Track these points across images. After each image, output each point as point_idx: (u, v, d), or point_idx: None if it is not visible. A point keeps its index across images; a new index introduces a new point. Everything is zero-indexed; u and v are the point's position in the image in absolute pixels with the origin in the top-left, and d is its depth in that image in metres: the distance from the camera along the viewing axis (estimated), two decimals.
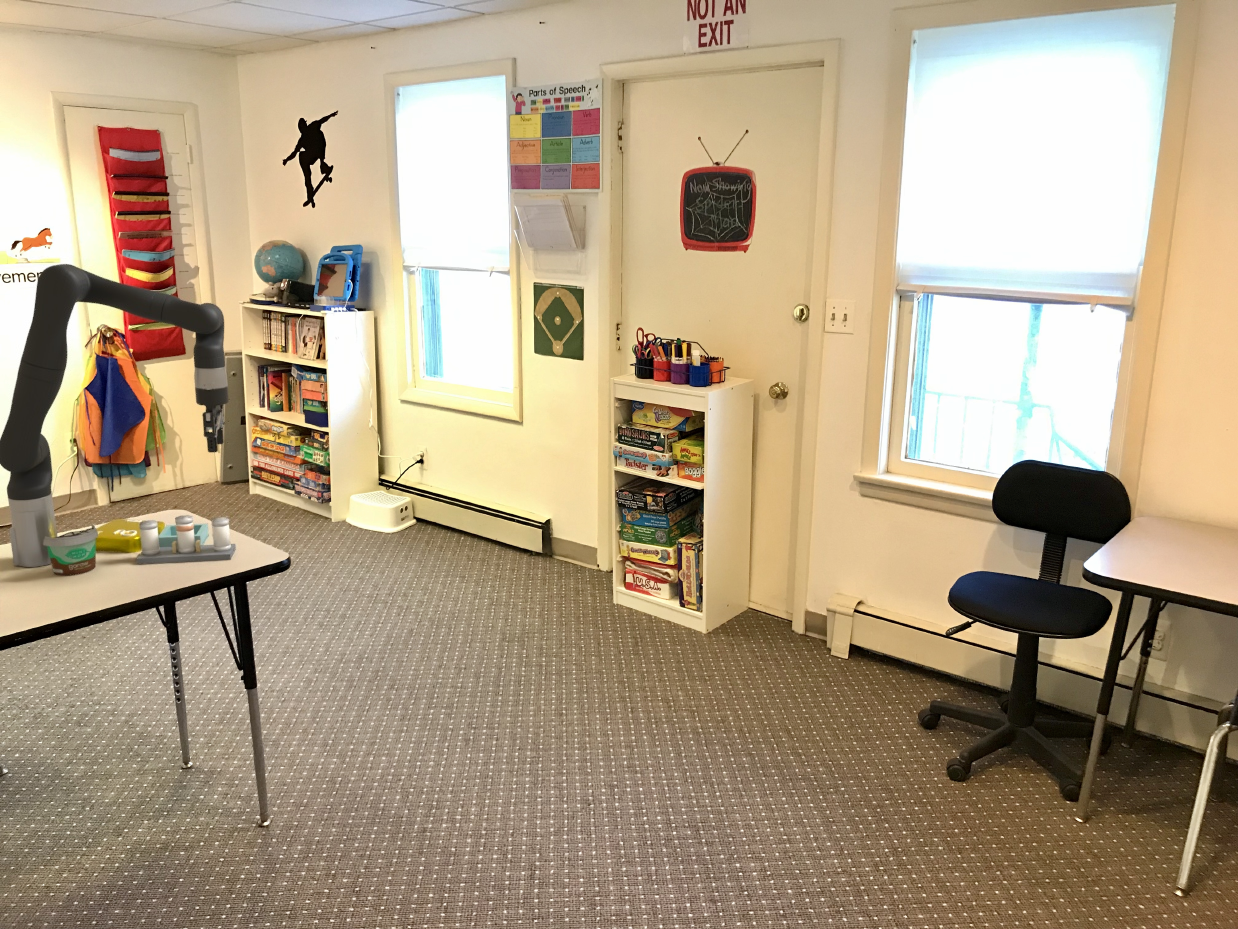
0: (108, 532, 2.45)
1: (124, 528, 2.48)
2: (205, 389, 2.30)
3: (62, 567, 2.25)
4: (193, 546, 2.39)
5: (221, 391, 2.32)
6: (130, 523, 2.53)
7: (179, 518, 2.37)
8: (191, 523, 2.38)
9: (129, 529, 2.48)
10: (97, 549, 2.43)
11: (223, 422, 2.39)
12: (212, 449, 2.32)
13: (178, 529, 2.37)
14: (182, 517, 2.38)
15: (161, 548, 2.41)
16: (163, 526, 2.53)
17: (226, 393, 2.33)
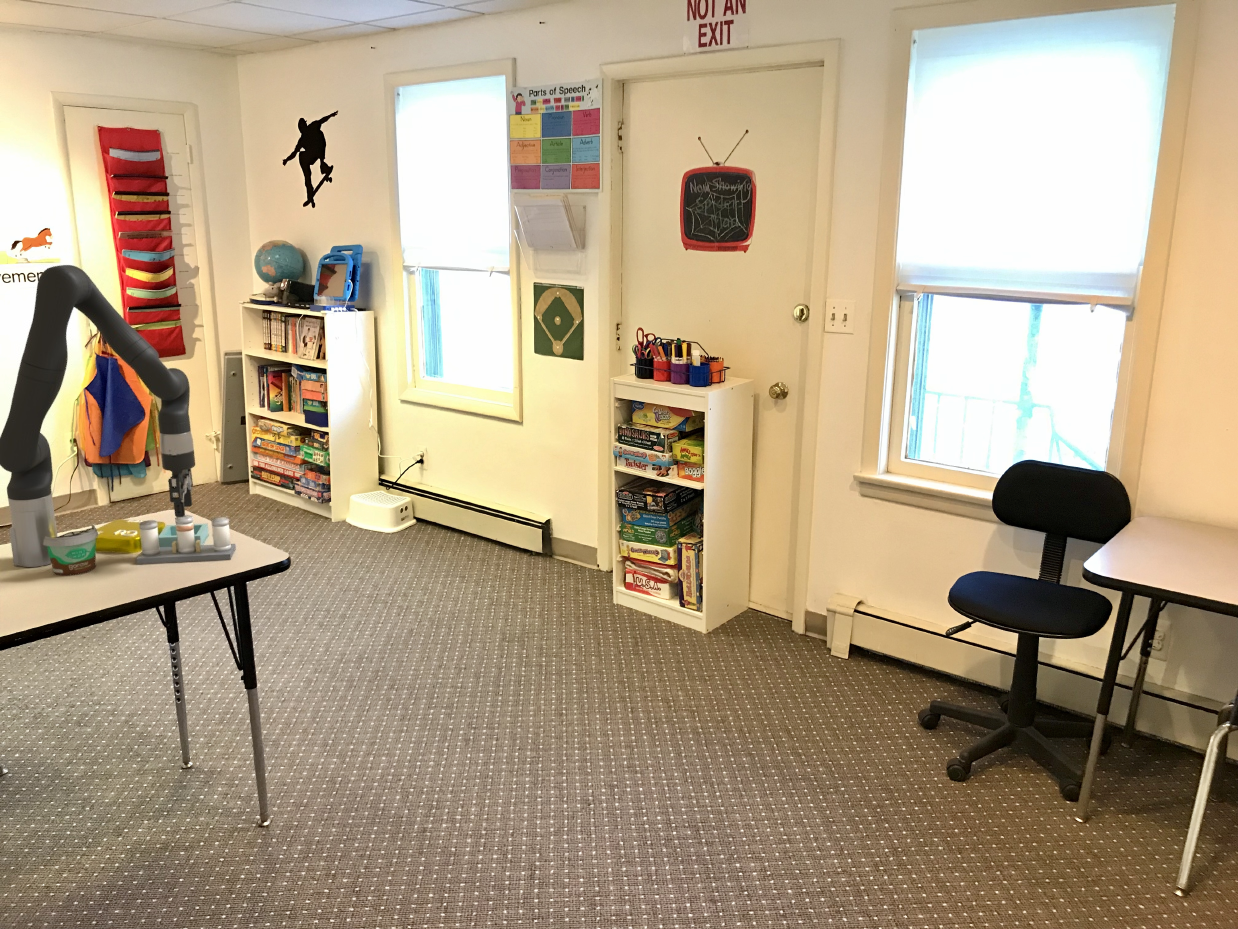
0: (109, 533, 2.45)
1: (125, 528, 2.48)
2: (170, 455, 2.30)
3: (62, 567, 2.25)
4: (193, 546, 2.39)
5: (187, 456, 2.32)
6: (131, 523, 2.53)
7: (179, 518, 2.37)
8: (191, 523, 2.38)
9: (130, 529, 2.48)
10: (98, 549, 2.42)
11: (191, 485, 2.39)
12: (179, 514, 2.32)
13: (178, 529, 2.37)
14: (182, 517, 2.38)
15: (161, 548, 2.41)
16: (164, 526, 2.53)
17: (192, 457, 2.34)
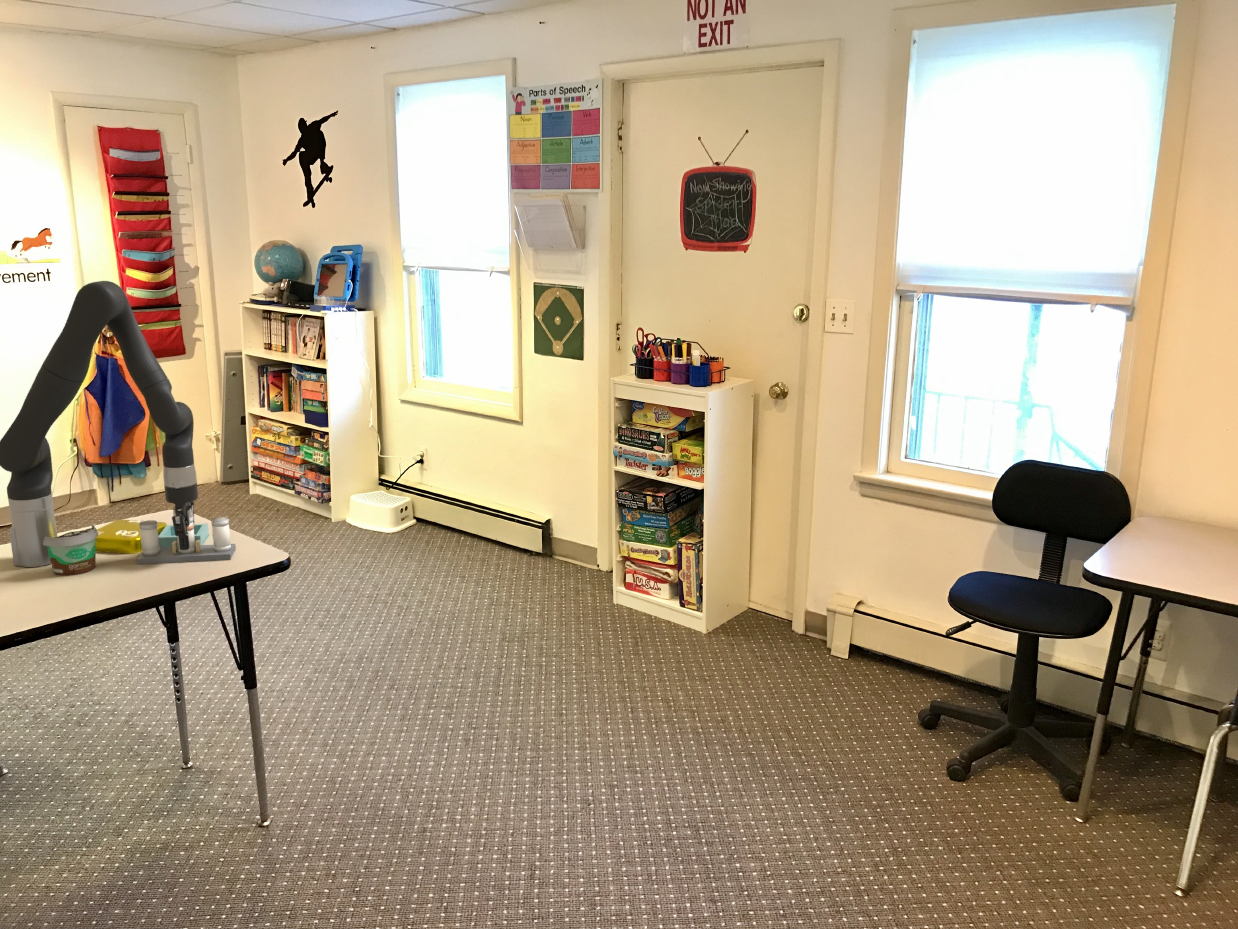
0: (110, 533, 2.44)
1: (126, 529, 2.48)
2: (174, 488, 2.32)
3: (62, 567, 2.25)
4: (193, 546, 2.39)
5: (190, 489, 2.34)
6: (133, 523, 2.52)
7: None
8: (191, 523, 2.38)
9: (131, 530, 2.47)
10: (98, 550, 2.42)
11: None
12: (184, 547, 2.37)
13: None
14: None
15: (161, 548, 2.41)
16: None
17: (195, 490, 2.36)
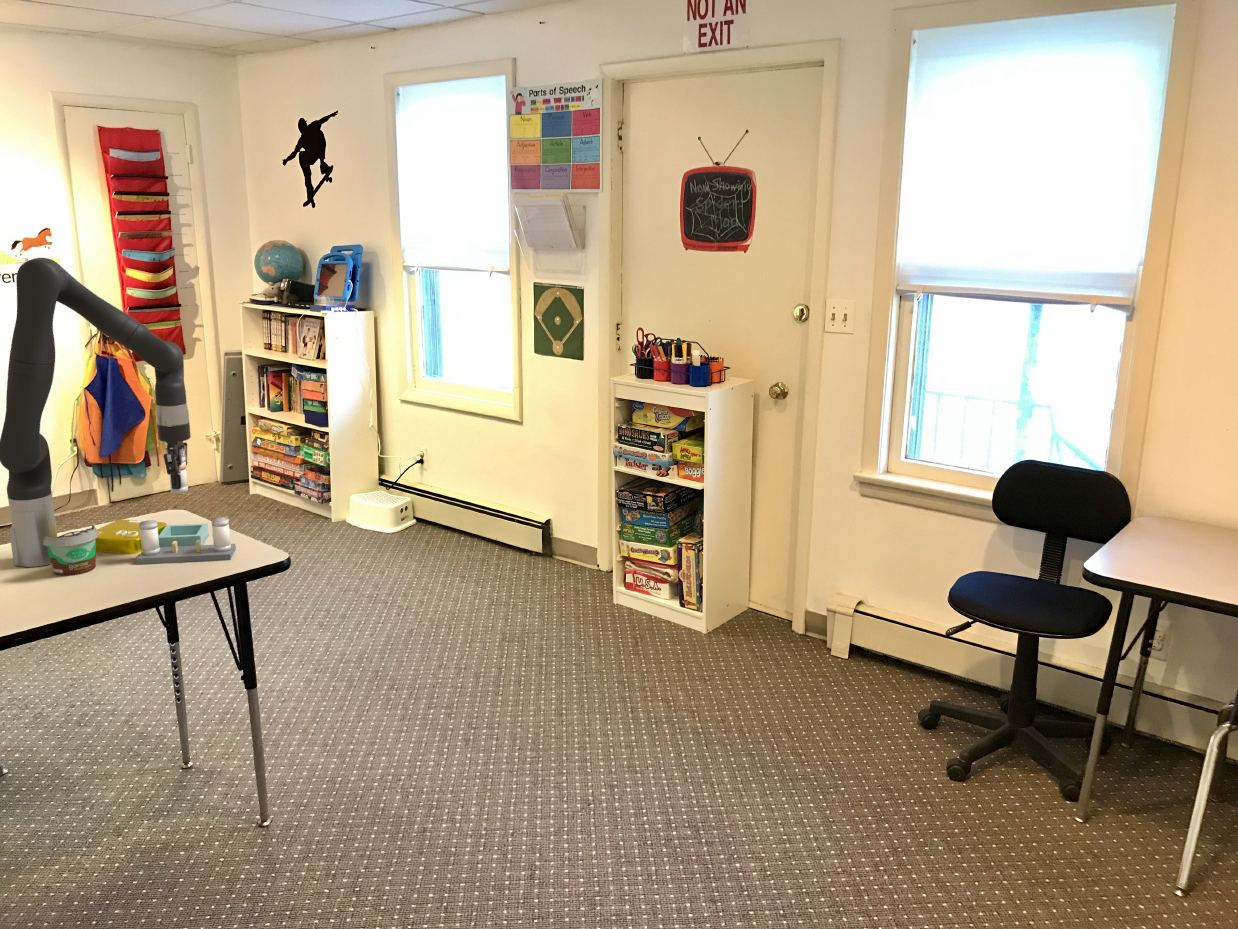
0: (110, 533, 2.44)
1: (126, 529, 2.48)
2: (166, 426, 2.34)
3: (62, 567, 2.25)
4: (185, 486, 2.41)
5: (182, 428, 2.36)
6: (133, 523, 2.52)
7: None
8: (183, 463, 2.40)
9: (131, 530, 2.47)
10: (98, 550, 2.42)
11: None
12: (176, 486, 2.39)
13: None
14: None
15: (161, 548, 2.41)
16: None
17: (187, 429, 2.38)
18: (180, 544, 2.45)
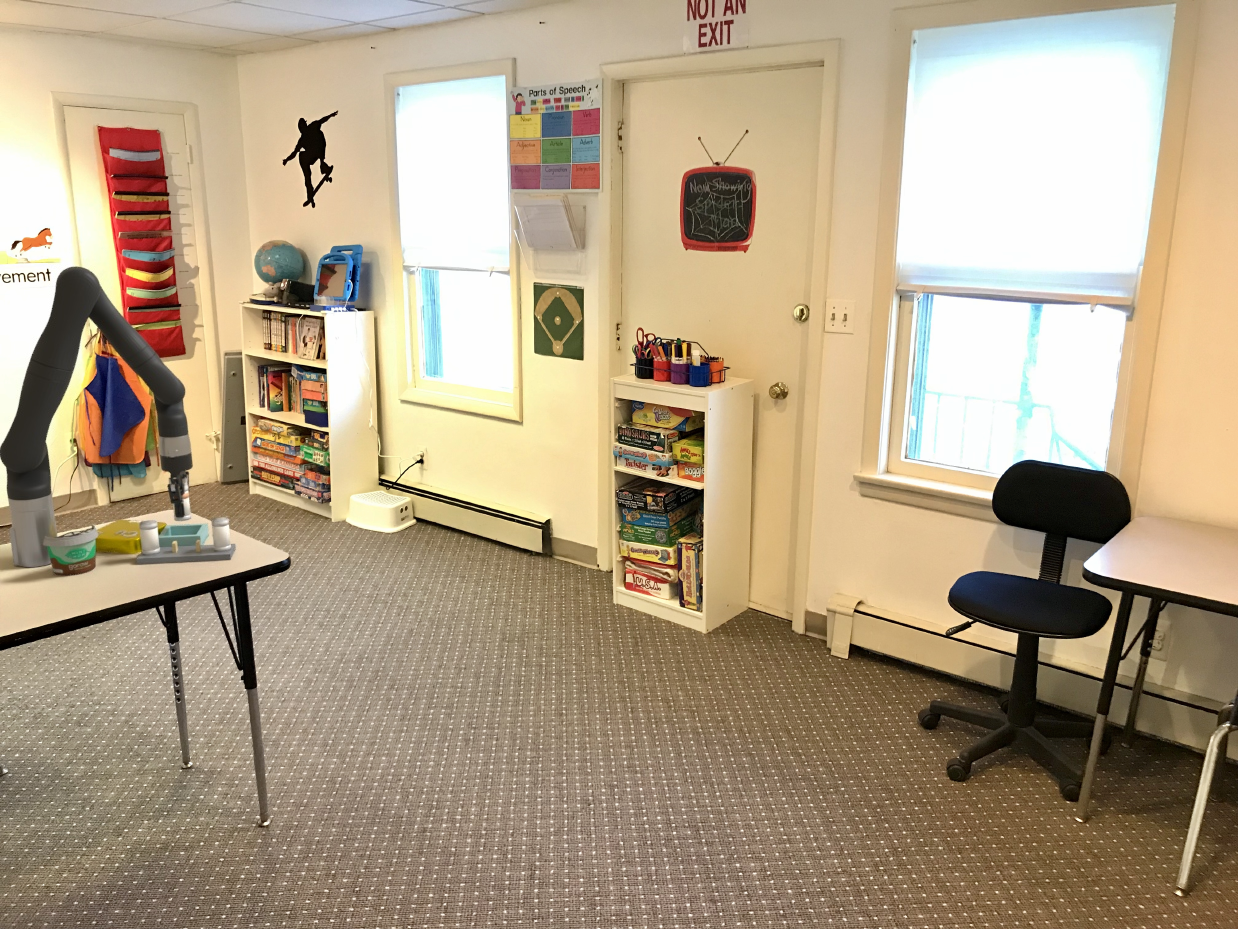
0: (110, 533, 2.44)
1: (126, 529, 2.48)
2: (169, 457, 2.40)
3: (62, 567, 2.25)
4: (188, 514, 2.48)
5: (185, 458, 2.42)
6: (133, 523, 2.52)
7: None
8: (186, 491, 2.46)
9: (131, 530, 2.47)
10: (98, 550, 2.42)
11: None
12: (179, 514, 2.45)
13: None
14: None
15: (161, 548, 2.41)
16: None
17: (190, 459, 2.44)
18: (180, 544, 2.45)
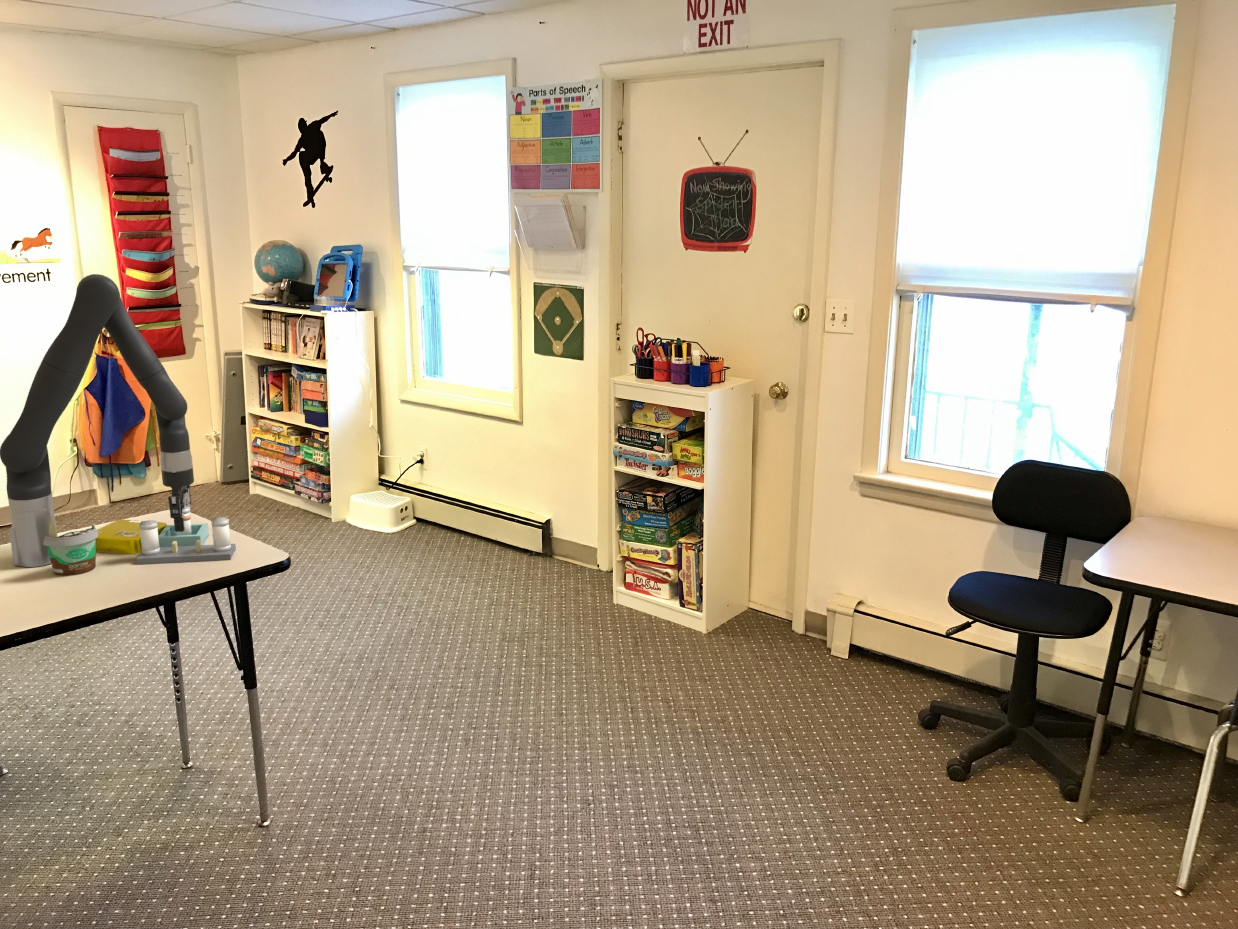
0: (110, 533, 2.44)
1: (126, 529, 2.48)
2: (170, 472, 2.41)
3: (62, 567, 2.25)
4: None
5: (186, 473, 2.43)
6: (133, 523, 2.52)
7: None
8: (188, 513, 2.48)
9: (131, 530, 2.47)
10: (98, 550, 2.42)
11: (189, 501, 2.50)
12: (179, 529, 2.44)
13: None
14: None
15: (161, 548, 2.41)
16: None
17: (191, 474, 2.45)
18: (180, 544, 2.45)
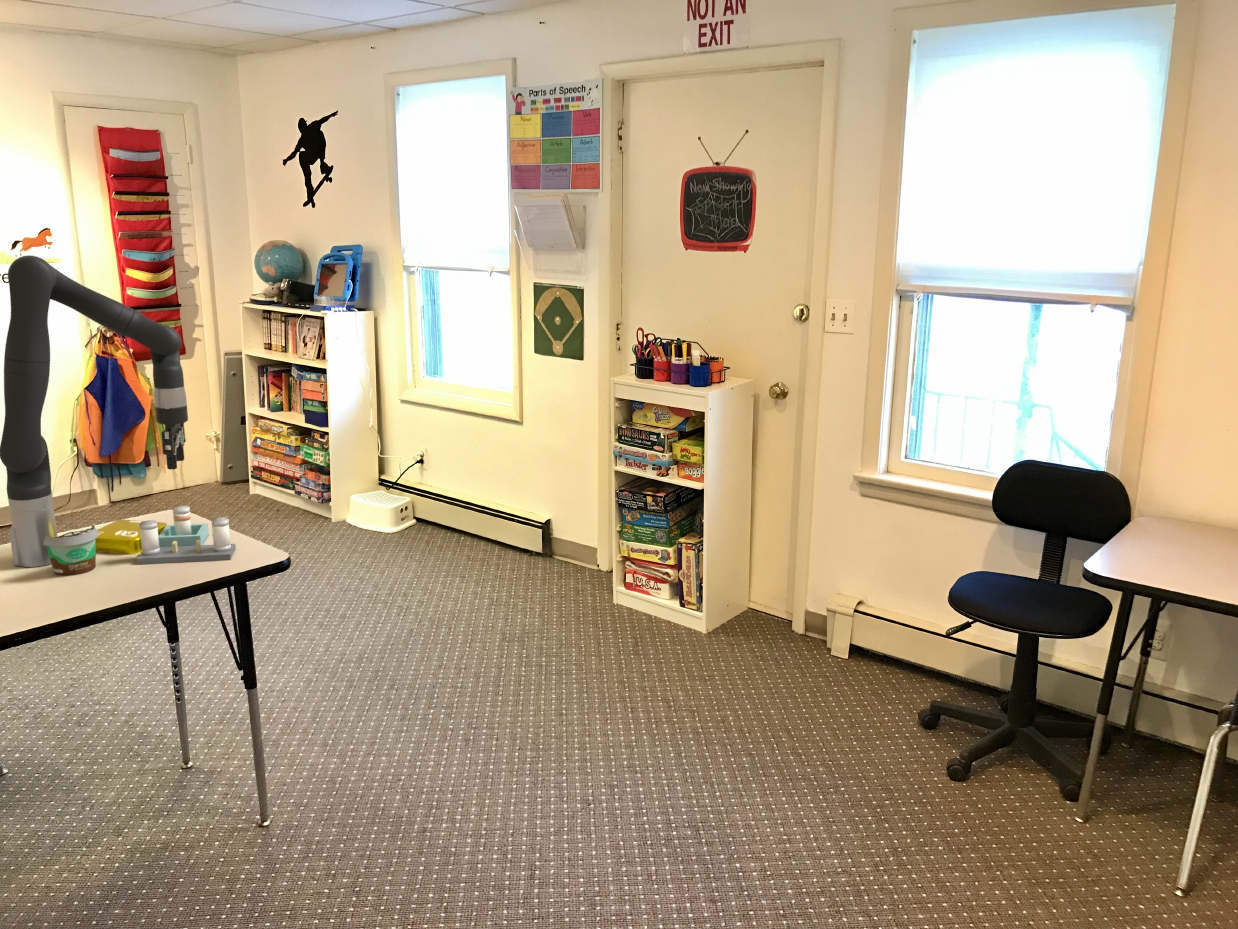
0: (110, 533, 2.44)
1: (126, 529, 2.48)
2: (164, 408, 2.37)
3: (62, 567, 2.25)
4: None
5: (180, 410, 2.39)
6: (133, 523, 2.52)
7: (176, 508, 2.47)
8: (188, 513, 2.48)
9: (131, 530, 2.47)
10: (98, 550, 2.42)
11: (183, 440, 2.47)
12: (171, 466, 2.40)
13: (175, 519, 2.46)
14: (179, 507, 2.48)
15: (161, 548, 2.41)
16: None
17: (185, 412, 2.41)
18: (180, 544, 2.45)
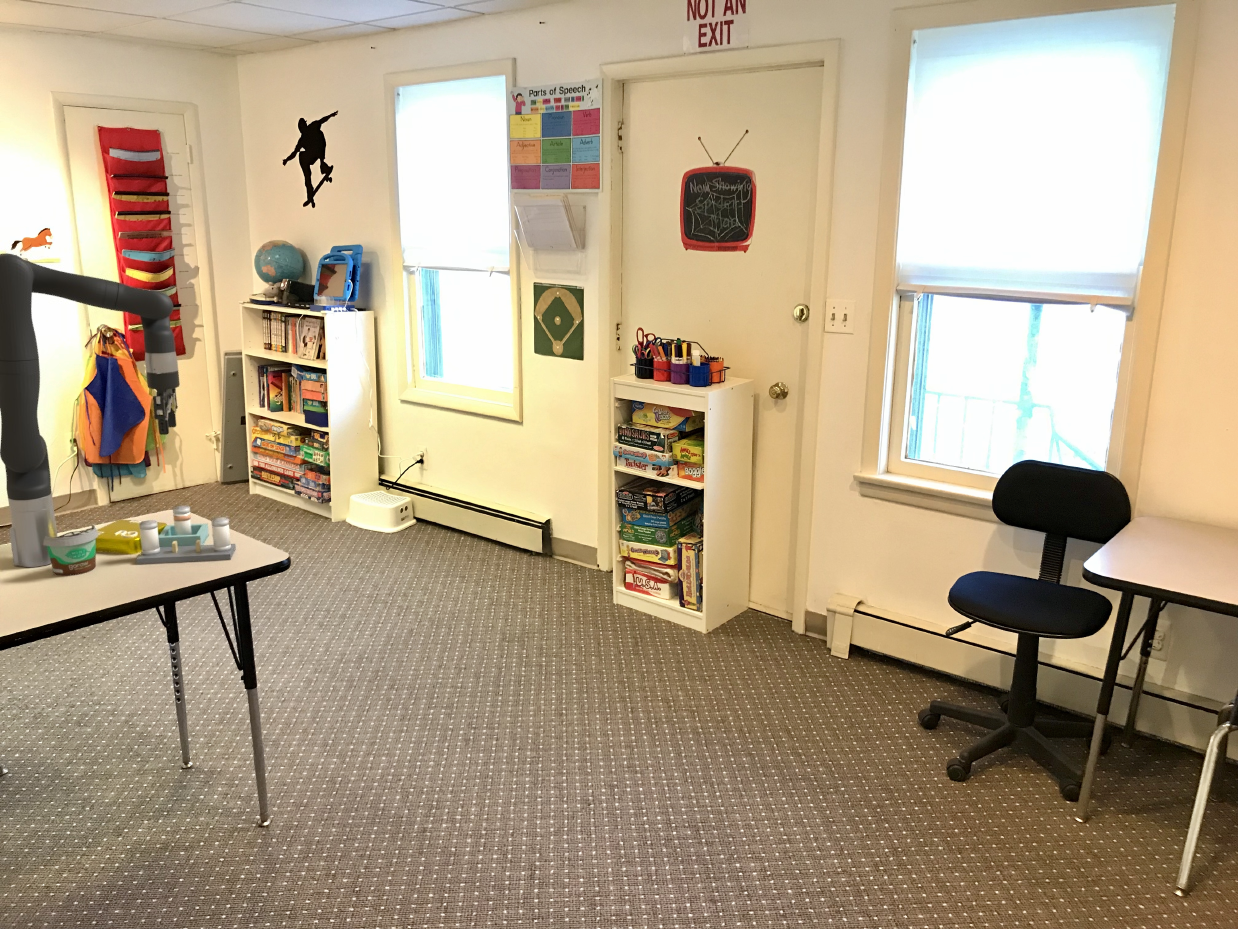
0: (110, 533, 2.44)
1: (126, 529, 2.48)
2: (155, 373, 2.37)
3: (62, 567, 2.25)
4: None
5: (171, 375, 2.39)
6: (133, 523, 2.52)
7: (177, 508, 2.47)
8: (188, 513, 2.48)
9: (131, 530, 2.47)
10: (98, 550, 2.42)
11: (175, 406, 2.46)
12: (163, 431, 2.40)
13: (176, 519, 2.46)
14: (179, 507, 2.48)
15: (161, 548, 2.41)
16: None
17: (176, 377, 2.41)
18: (180, 544, 2.45)
